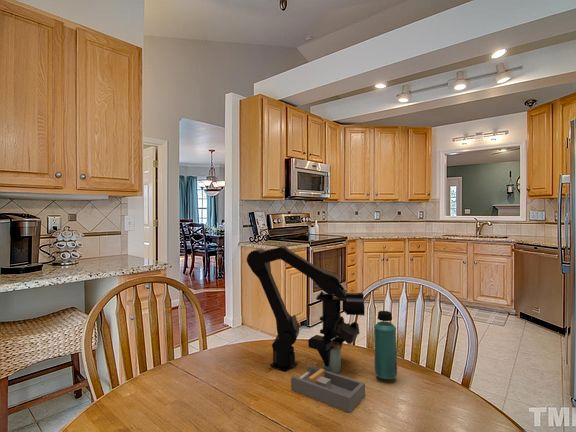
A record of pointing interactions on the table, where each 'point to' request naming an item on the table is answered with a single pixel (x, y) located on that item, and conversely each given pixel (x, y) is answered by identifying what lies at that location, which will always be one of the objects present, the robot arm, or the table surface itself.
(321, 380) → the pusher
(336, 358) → the jar
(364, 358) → the table surface
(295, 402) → the table surface
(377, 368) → the beverage bottle
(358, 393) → the gray rectangular tray
